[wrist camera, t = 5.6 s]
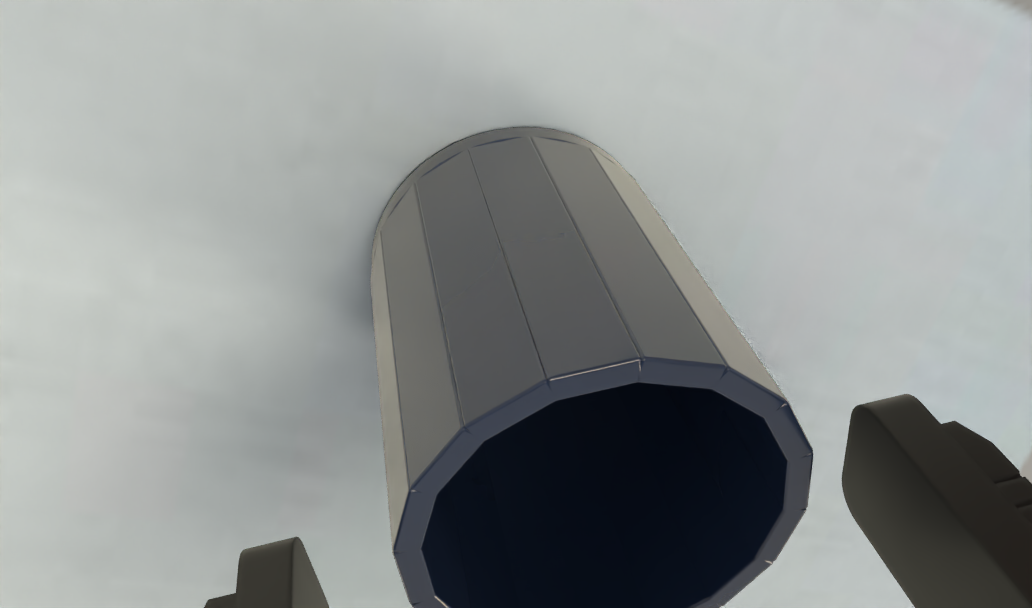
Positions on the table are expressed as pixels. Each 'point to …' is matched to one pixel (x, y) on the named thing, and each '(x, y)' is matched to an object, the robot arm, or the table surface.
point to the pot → (567, 392)
